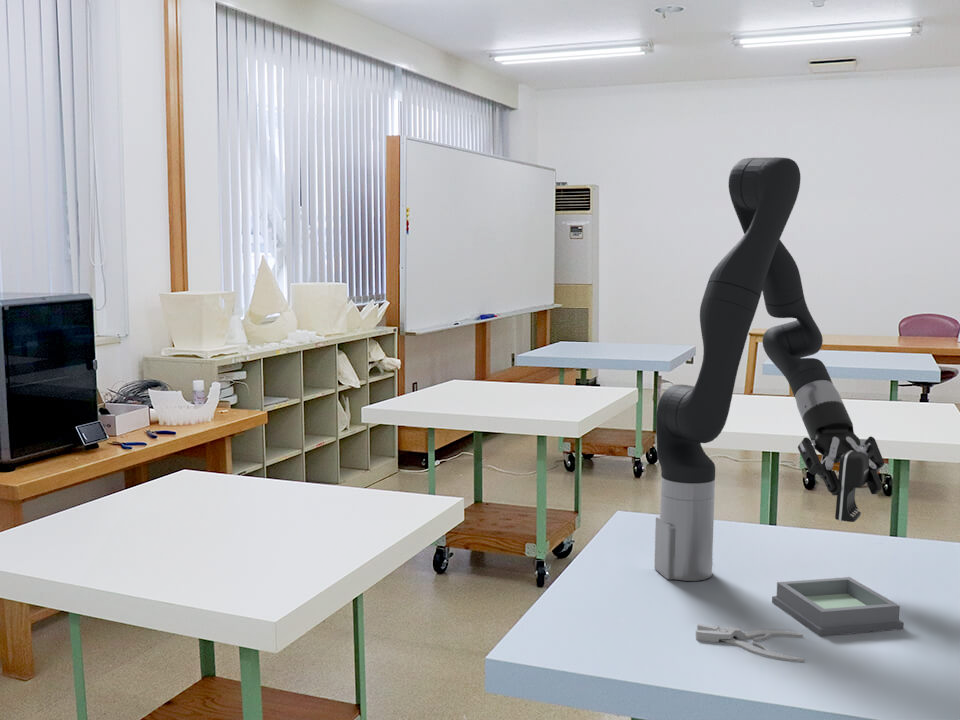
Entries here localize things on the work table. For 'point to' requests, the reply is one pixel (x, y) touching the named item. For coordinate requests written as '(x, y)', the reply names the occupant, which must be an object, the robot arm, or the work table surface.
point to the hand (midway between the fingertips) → (857, 492)
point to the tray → (837, 606)
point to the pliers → (727, 636)
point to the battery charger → (851, 484)
